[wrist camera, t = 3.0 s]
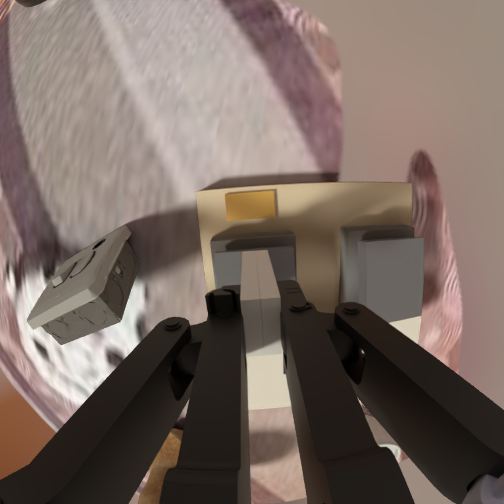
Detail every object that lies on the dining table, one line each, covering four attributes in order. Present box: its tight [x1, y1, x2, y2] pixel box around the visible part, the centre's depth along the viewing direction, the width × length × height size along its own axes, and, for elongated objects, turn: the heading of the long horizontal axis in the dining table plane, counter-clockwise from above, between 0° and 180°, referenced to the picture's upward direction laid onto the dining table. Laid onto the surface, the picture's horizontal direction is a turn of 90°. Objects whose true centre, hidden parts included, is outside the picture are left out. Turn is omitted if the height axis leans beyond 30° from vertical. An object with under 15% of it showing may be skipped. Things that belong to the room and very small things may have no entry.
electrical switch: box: [27, 226, 140, 345], centre depth 20 cm, size 9×5×9 cm, turn 114°
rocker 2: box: [358, 237, 424, 353], centre depth 19 cm, size 12×5×2 cm, turn 4°
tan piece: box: [138, 429, 183, 504], centre depth 24 cm, size 15×12×15 cm
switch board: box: [196, 182, 414, 313], centre depth 23 cm, size 20×18×4 cm
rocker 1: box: [214, 246, 295, 410], centre depth 19 cm, size 12×5×2 cm, turn 4°
